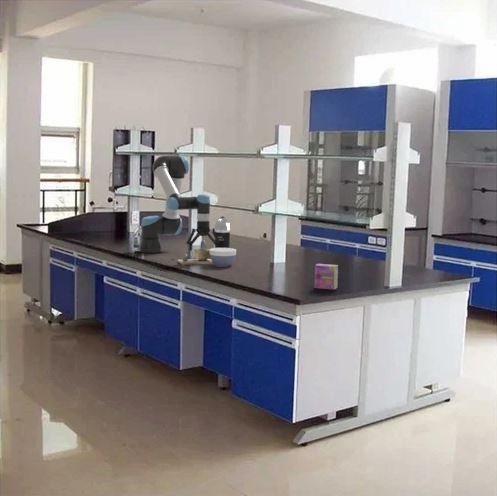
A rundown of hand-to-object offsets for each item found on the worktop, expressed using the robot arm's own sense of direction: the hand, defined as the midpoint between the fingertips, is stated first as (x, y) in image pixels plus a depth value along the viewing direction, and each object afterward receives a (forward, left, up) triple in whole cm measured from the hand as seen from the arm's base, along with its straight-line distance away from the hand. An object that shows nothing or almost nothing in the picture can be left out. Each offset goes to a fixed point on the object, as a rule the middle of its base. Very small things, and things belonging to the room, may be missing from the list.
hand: (203, 255), depth 429 cm
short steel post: (0, -11, -3) cm, 11 cm away
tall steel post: (0, 0, -3) cm, 3 cm away
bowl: (+14, +8, -4) cm, 17 cm away
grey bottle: (-27, +21, -4) cm, 34 cm away
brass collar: (0, 0, -2) cm, 2 cm away
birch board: (0, -4, -4) cm, 6 cm away
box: (+92, +37, -4) cm, 99 cm away
